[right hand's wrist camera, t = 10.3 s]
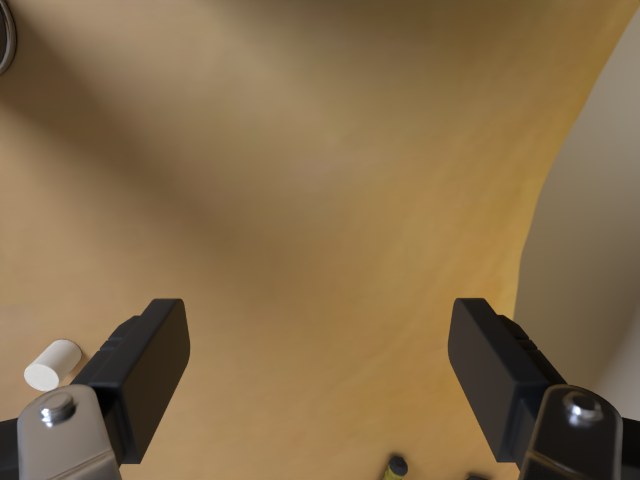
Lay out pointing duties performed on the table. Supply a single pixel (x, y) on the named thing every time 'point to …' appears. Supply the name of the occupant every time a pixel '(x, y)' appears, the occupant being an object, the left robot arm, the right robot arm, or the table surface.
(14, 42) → the right robot arm
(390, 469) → the toy gun
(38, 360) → the can
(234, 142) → the table surface
